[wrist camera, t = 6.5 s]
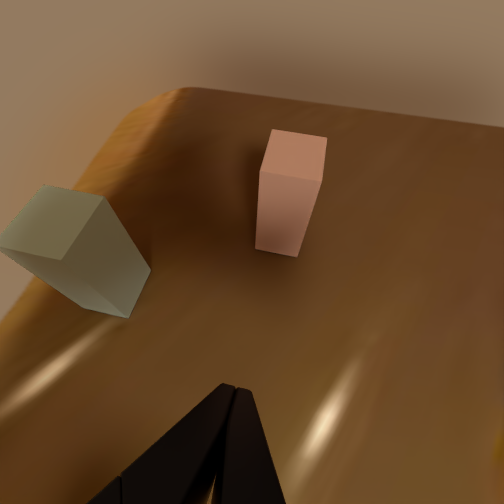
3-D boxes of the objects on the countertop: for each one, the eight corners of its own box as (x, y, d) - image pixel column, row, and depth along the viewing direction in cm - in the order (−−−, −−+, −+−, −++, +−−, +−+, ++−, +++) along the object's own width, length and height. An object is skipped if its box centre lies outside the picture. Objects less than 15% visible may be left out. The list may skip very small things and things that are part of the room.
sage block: (128, 318, 22) (61, 260, 14) (82, 307, 22) (-9, 245, 14) (151, 270, 24) (104, 196, 16) (109, 261, 25) (43, 184, 17)
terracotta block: (297, 257, 25) (321, 181, 17) (255, 249, 26) (259, 171, 18) (302, 220, 28) (327, 137, 20) (264, 212, 28) (272, 129, 20)
